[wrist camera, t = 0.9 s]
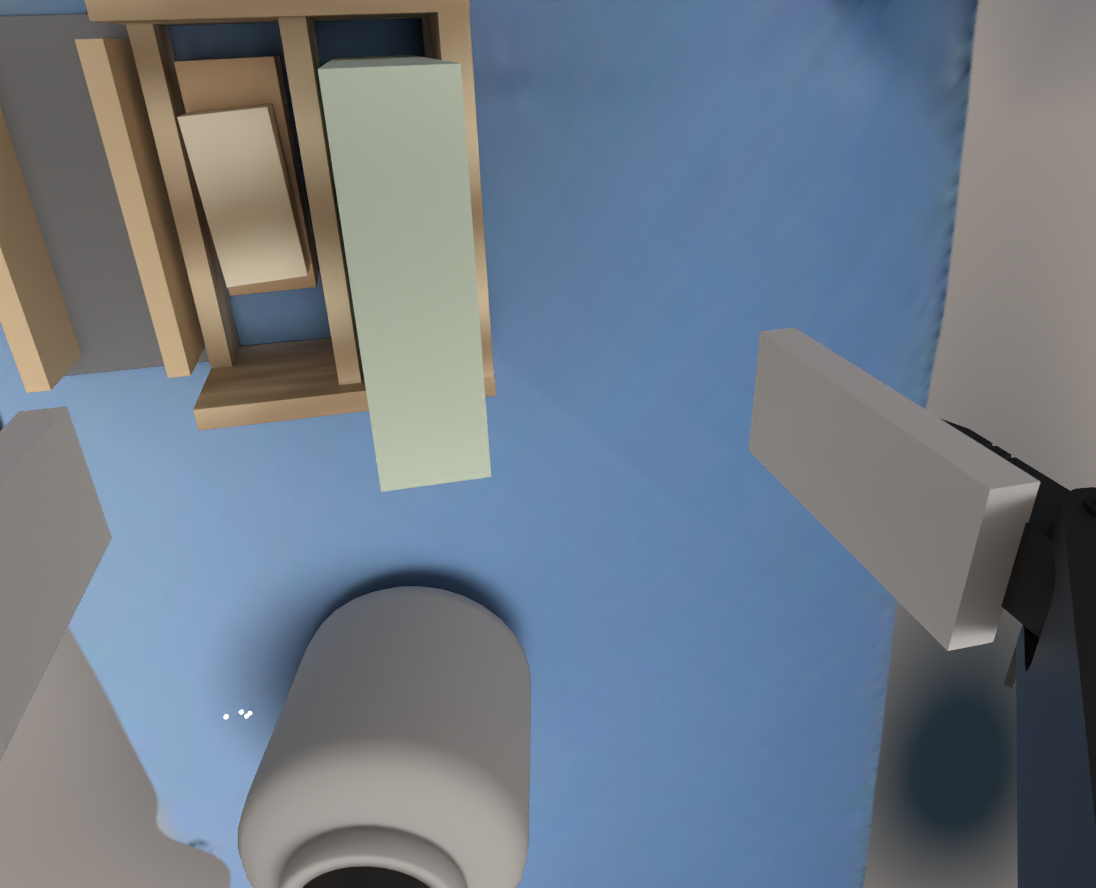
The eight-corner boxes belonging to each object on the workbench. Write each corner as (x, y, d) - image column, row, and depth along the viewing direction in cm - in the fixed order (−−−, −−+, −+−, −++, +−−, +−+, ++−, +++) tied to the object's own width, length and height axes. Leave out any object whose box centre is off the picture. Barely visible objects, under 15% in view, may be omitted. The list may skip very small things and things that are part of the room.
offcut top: (188, 112, 33) (177, 117, 31) (272, 103, 34) (266, 106, 32) (234, 273, 37) (226, 287, 34) (310, 262, 37) (307, 275, 35)
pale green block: (334, 57, 36) (317, 69, 19) (409, 54, 37) (460, 63, 20) (369, 306, 42) (381, 491, 25) (434, 300, 42) (491, 476, 25)
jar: (242, 749, 54) (167, 1230, 32) (219, 573, 47) (105, 1025, 25) (512, 719, 58) (607, 1123, 36) (524, 554, 51) (650, 926, 30)
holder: (-54, 17, 33) (-117, 13, 28) (130, 13, 34) (98, 8, 30) (66, 373, 40) (31, 412, 36) (214, 358, 41) (197, 395, 37)
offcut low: (189, 60, 35) (173, 61, 32) (280, 55, 36) (273, 56, 33) (239, 276, 40) (229, 296, 37) (319, 268, 41) (316, 286, 38)
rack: (137, -1, 34) (81, -12, 27) (446, -7, 36) (468, -20, 29) (224, 366, 42) (198, 430, 35) (473, 340, 44) (496, 395, 37)
